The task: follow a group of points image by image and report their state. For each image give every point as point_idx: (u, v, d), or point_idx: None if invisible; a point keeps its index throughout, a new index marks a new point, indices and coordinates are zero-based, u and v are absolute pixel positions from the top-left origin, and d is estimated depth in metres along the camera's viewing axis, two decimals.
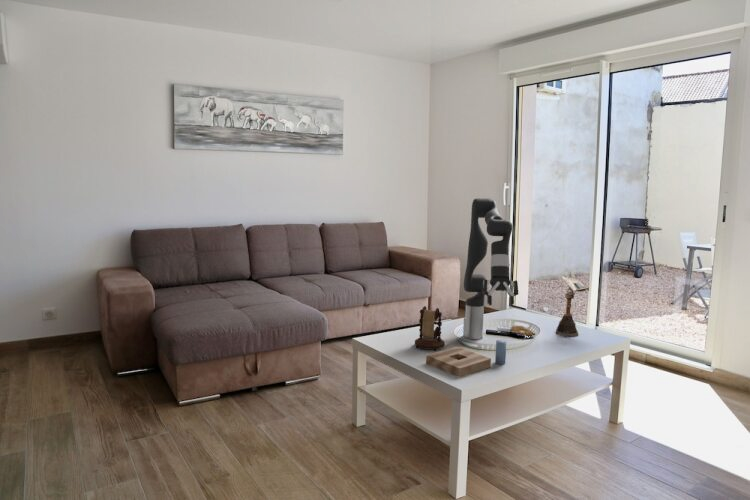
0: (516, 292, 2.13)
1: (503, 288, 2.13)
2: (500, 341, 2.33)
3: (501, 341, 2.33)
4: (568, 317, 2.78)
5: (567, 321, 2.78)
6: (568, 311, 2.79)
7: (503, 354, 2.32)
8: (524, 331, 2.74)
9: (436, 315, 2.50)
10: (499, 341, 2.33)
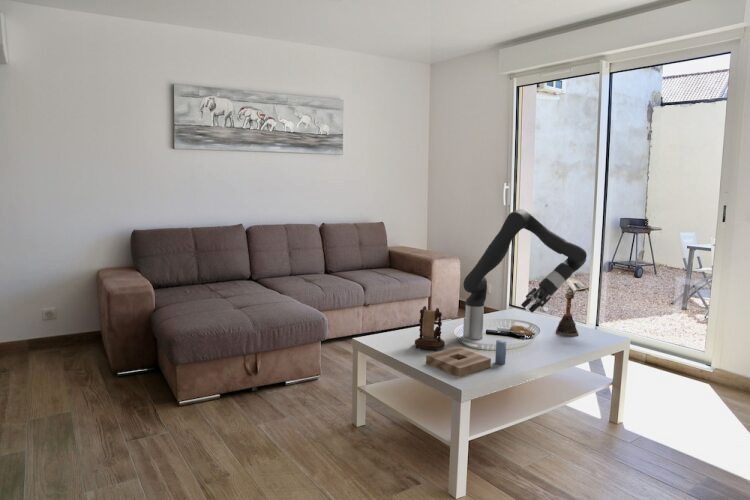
0: None
1: None
2: (500, 341, 2.33)
3: (501, 341, 2.33)
4: (568, 317, 2.78)
5: (567, 321, 2.78)
6: (568, 311, 2.79)
7: (503, 354, 2.32)
8: (524, 331, 2.74)
9: (436, 315, 2.50)
10: (499, 341, 2.33)
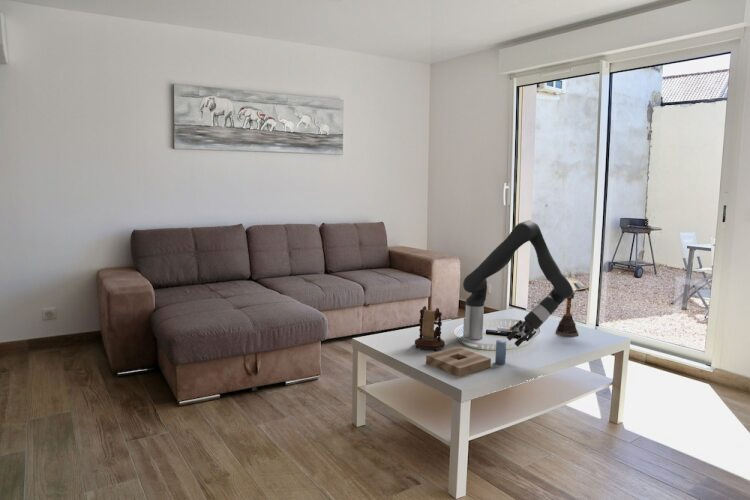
0: None
1: None
2: (500, 341, 2.33)
3: (501, 341, 2.33)
4: (568, 317, 2.78)
5: (567, 321, 2.78)
6: (568, 311, 2.79)
7: (503, 354, 2.32)
8: None
9: (436, 315, 2.50)
10: (499, 341, 2.33)
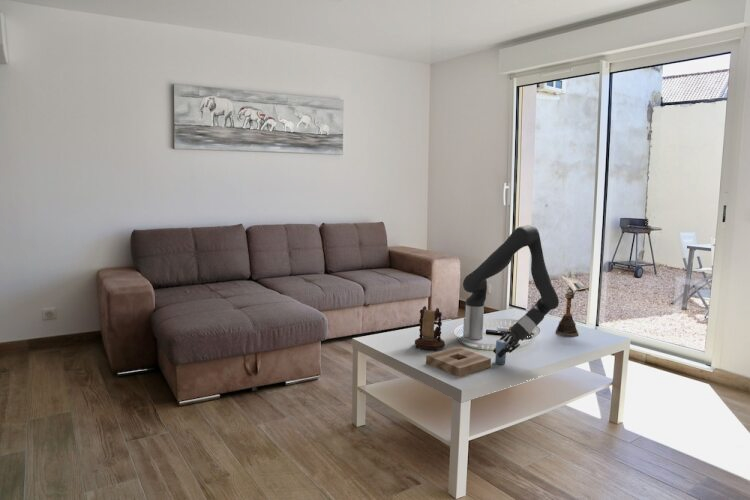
0: None
1: None
2: (500, 341, 2.33)
3: (501, 341, 2.33)
4: (568, 317, 2.78)
5: (567, 321, 2.78)
6: (568, 311, 2.79)
7: None
8: None
9: (436, 315, 2.50)
10: (499, 341, 2.33)
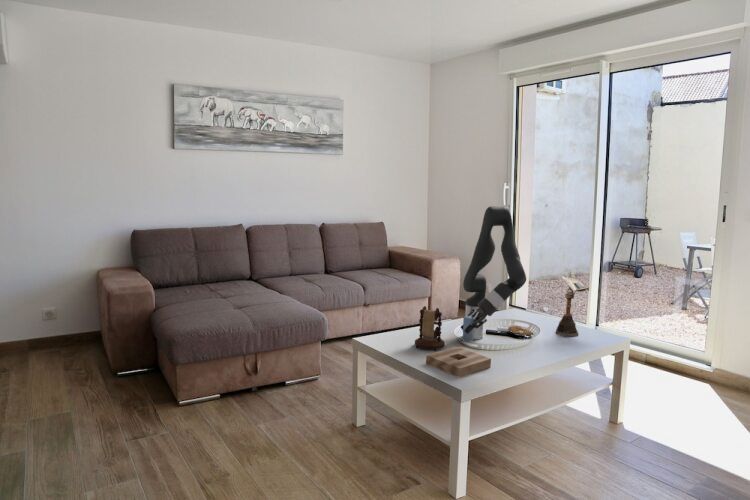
0: None
1: None
2: (467, 317, 2.28)
3: (468, 317, 2.28)
4: (568, 317, 2.78)
5: (567, 321, 2.78)
6: (568, 311, 2.79)
7: None
8: (523, 331, 2.74)
9: (436, 315, 2.50)
10: (466, 317, 2.28)
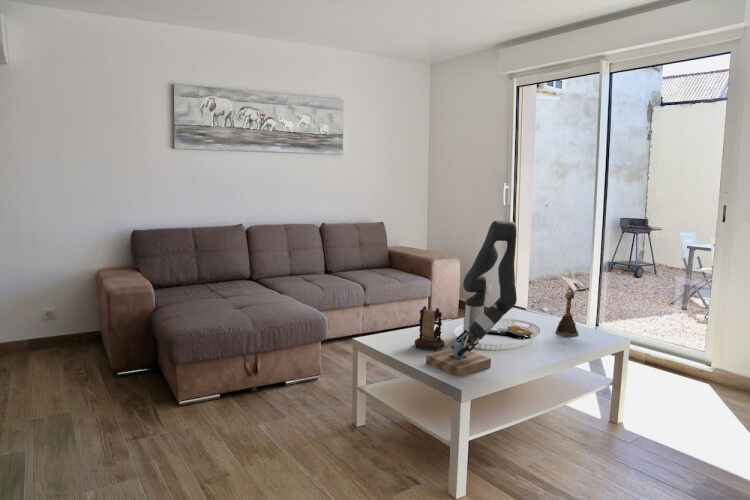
0: None
1: None
2: (457, 343, 2.29)
3: (459, 343, 2.29)
4: (568, 317, 2.78)
5: (567, 321, 2.78)
6: (568, 311, 2.79)
7: None
8: (522, 331, 2.74)
9: (436, 315, 2.50)
10: (457, 343, 2.29)
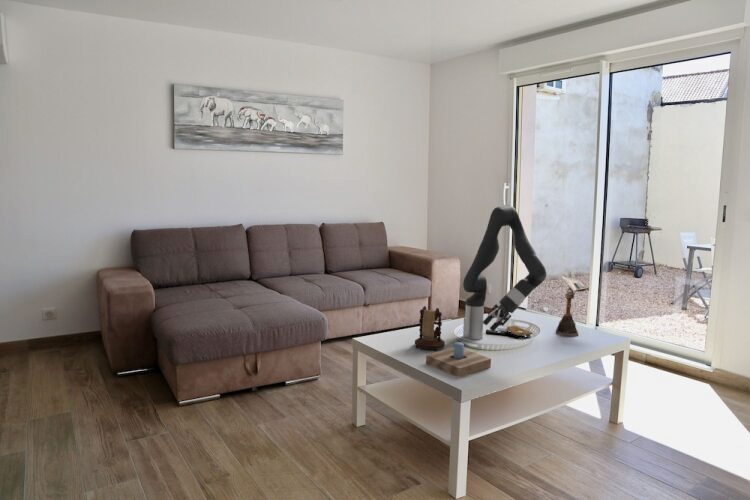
0: None
1: None
2: (458, 343, 2.29)
3: (459, 343, 2.29)
4: (568, 317, 2.78)
5: (567, 321, 2.78)
6: (568, 311, 2.79)
7: (460, 356, 2.28)
8: (522, 331, 2.74)
9: (436, 315, 2.50)
10: (457, 343, 2.29)
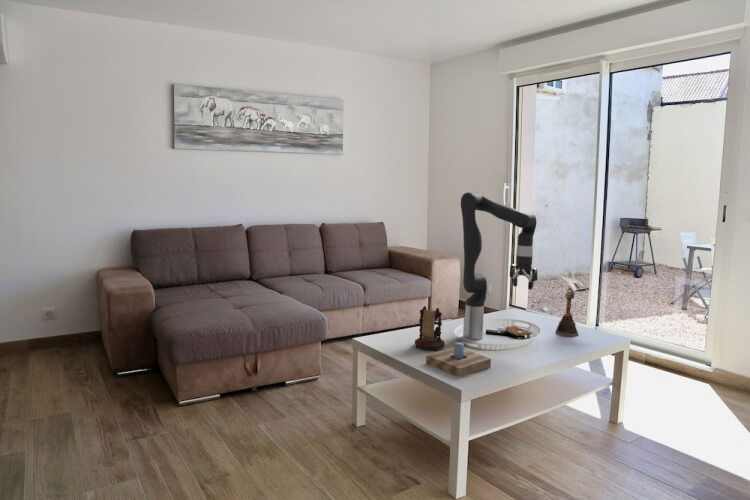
0: None
1: None
2: (458, 343, 2.29)
3: (459, 343, 2.29)
4: (568, 317, 2.78)
5: (567, 321, 2.78)
6: (568, 311, 2.79)
7: (461, 356, 2.28)
8: (521, 331, 2.74)
9: (436, 315, 2.50)
10: (457, 343, 2.29)
